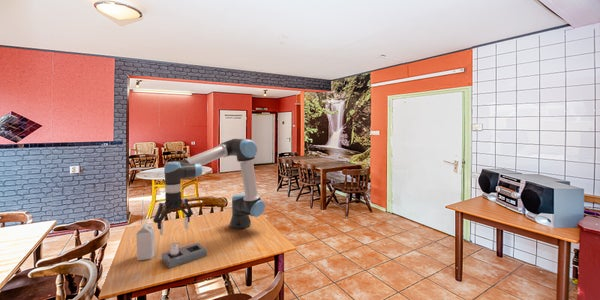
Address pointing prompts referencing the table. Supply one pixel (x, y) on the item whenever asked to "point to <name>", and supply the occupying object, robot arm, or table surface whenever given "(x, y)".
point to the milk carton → (145, 242)
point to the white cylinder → (174, 250)
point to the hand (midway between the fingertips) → (174, 231)
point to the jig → (184, 255)
